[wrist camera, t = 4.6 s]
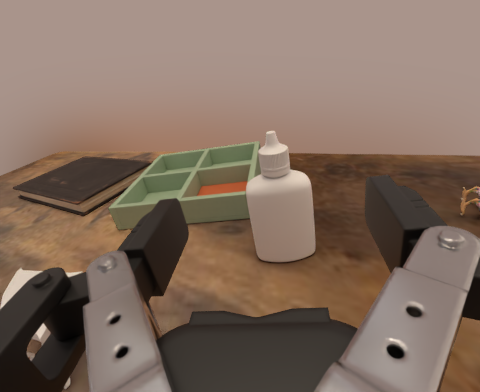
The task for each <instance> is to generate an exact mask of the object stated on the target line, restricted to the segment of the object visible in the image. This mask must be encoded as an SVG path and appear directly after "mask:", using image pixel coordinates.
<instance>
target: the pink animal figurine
mask: <svg viewBox="0 0 480 392" xmlns="http://www.w3.org/2000/svg"><path fill="white" fill-rule="evenodd" d="M463 189H464V191H463V192H462V196H463V199H464V200H463V199H461V200H462V203H461V211H462V213H461V214H462V215H464V213H465V208H466V206H467V205H469V204H476V205H477V207H478V208H479V211H480V200H479V199H480V187H474V188H473V189H470V190H467V191H466V189H465V187H463ZM471 192H476V193H477V194H478V196H479V199H473V200H471V201H468V202H466V203H465V201H466V199H467V198H466V197H467V195H468V194H469V193H471Z"/></svg>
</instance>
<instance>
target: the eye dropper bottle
mask: <svg viewBox="0 0 480 392" xmlns="http://www.w3.org/2000/svg"><path fill="white" fill-rule="evenodd" d="M258 156H259V162H260V169H261V174H260V175H258V176H256V177H254V178H253V179H251V180H250V181H249V182H248V184H247V186H246V198H247V204H248V210H249V215H250V220H251V226H252V231H253V236H254V241H255V247H256V252H257V255H258V257H259V258H260V259H261V260H263V261H269V262H289V261H295V260H299V259H302V258H305V257H308V256H310V255H312V254H313V253H314V252H315V248H316V246H315V229H314V213H313V199H312V188H311V183H310V180H309V178H308V177H307V175H306V174H304V173H302V172H299V171H295V170H290V162H289V152H288V147H287V146H286V145H284V144H280V143H279V142H278V139H277V136H276V133H275V131H269V132H267V133H266V144H265V146H264V147H262V148H260V149H259V151H258Z"/></svg>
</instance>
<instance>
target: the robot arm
mask: <svg viewBox="0 0 480 392" xmlns="http://www.w3.org/2000/svg"><path fill="white" fill-rule="evenodd" d="M365 218H366V223H367V226H368V228H369V230H370V232H371V234H372V236H373V238H374V240H375V242H376V244H377V246H378V248H379V250H380V252H381V254H382V256H383V258H384V260H385V262H386V264H387V266H388V268H389V270H390V272H391V275H390V276H389V278H388V280H387V281H386V283H385V285H384V286H383V288H382V290H381V291H380V293H379V295H378V296H377V298H376V300H375V301H374V303H373V305H372V306H371V308H370V310H369V311H368V313H367V315H366V316H365V318H364V320H363V321H362V323H361V325H360V326H359V328H358V329H357V328H355V327H353V326H351V325H349V324H346V323H343V322H340V321H337V320H332V319H330V316H329V311H328V308H298V309H289V310H285V311H281V312H277V313H273V314H269V315H266V316H262V317H250V316H246V315H241V314H236V313H231V312H227V311H201V312H192V315H191V318H190V321H189V323H187V324H184V325H181V326H179V327H177V328H175V329H173V330H171V331H169V332H167V333H166V334H164V335H162V333H161V330H160V328H159V325H158V323H157V320H156V318H155V315H154V312H153V310H152V307H151V305H150V303H149V300H150V298H151V296H163V295H164V293H165V291H166V288H167V286H168V284H169V281H170V279H171V277H172V274H173V272H174V270H175V268H176V265H177V263H178V261H179V258H180V256H181V254H182V251H183V249H184V247H185V245H186V242H187V240H188V226H187V223H186V220H185V217H184V214H183V211H182V208H181V205H180V202H179V200H178V199H177V198H171V199H162V200H159V201H158V203H157V204H156V205H155V207H154V208H153V210H152V211H150V212H149V213H147V214H146V215H145V216H143V217H142V218H141V219H140V220H139V222H138V223H137V224H136V227H134V228H133V230H132V231H131V233H130V234H129V235H128V236H127V238H126V239H125V240H124V242H123V243H122V244H121V246H120V247H119V249H118V250H117V251H112V252H109V253H106V254H104V255H102V256H100V257H98V258H97V259H95V260H94V261H93V262H92V263H91V264H90V265H89V266H88V268H87V270H86V272H84V273H81V274H78V275H74V276H71V277H68V276H67V274H66V273H65V271H64V270H63V269H62V268H58V267H57V268H51V269H47V270H45V271H43V272H40V273H39V274H37V275H35V276H34V277H32V278H31V279H29V280H28V281H27V282H26V283H25V284H24V285H23V286H22V287H21V288H20V289H19V290H18V291H17V292H16V293H15V294H14V296H13V297H12V298H11V299H10V300H9V301H8V302H7V303H6V304H5V305H4V306H3V307H2V308H1V309H0V392H62V390H63V388H64V386H65V384H66V383H67V381H68V379H69V377H70V375H71V374H72V372H73V370H74V368H75V366H76V365H77V363H78V361H79V359H80V357H81V356H82V354H83V352H84V350H85V348H86V354H87V366H88V378H89V390H90V392H440V389H441V386H442V382H443V379H444V376H445V372H446V369H447V366H448V362H449V359H450V356H451V353H452V349H453V346H454V343H455V340H456V336H457V333H458V330H459V327H460V324H461V320H462V317H466V318H470V319H475V320H480V240H479V239H478V238H477V237H476V236H475V235H473V234H472V233H470V232H468V231H466V230H463V229H460V228H456V227H450V226H447V224H446V223H445V222H444V221H443V220H442V219H441V218H440V217H439V216H438V215H437V214H436V212H435V211H434V210H433V209H432V208H431V207H429V205H428V204H427V203H426V202H425V201H423V198H422V197H421V196H420V195H419V194H418V193H417V192H416V191H414V190H412V189H410V188H408V187H406V186H397V185H396V183H395V182H394V181H393V180H392V179H391V177H390V176H389V175H383V176H374V177H367V179H366V192H365ZM43 323H44V325H45V326H46V327H47V329H48V330H49V331H50V332H51V334H50V335H49V337H48V338H47V340H46V341H45V342H44V344H43V345H42V347H41V348H40V349H39V351H38V352H37V354H36V355H35V357H34V358H33V359H32V361H30V359H29V358H28V356H27V346H28V343H29V341H30V340H31V338H32V337H33V336H34V334H35V333H36V332H37V330H38V329H39V328H40V327H41V325H42V324H43Z"/></svg>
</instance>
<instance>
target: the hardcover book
mask: <svg viewBox="0 0 480 392" xmlns="http://www.w3.org/2000/svg"><path fill="white" fill-rule="evenodd" d="M153 162H154V161H141V160H128V159H115V158H102V157H89V156H85V157H82V158H80V159H78V160H76V161H73V162H71V163H69V164H66V165H64V166H62V167H59V168H57V169H55V170H52V171H50V172H48V173H45V174H43V175H41V176H38V177H36V178H34V179H31V180H29V181H27V182H24V183H22V184H20V185H17V186H15V187H13V189H15V190H18V192H19V193H20V196H18V197H19V198H22V199H26V200H29V201H33V202H36V203H40V204H44V205H47V206H51V207H54V208H58V209H61V210H65V211H68V212H72V213H75V214H79V215H82V216H84V215H86V214H88V213H89V212H91V211H93V210H94V209H96V208H98V207H99V206H101V205H103V204H104V203H106V202H108V201H110V200H111V199H113V198H115V197H116V196H118V195H120V194H121V193H123V192H125V191H126V189H127V188H128V187H129V186H130V185H131V184H132V183H133V182H134V181H135V180H136V179H137V178H138V177H139V176H140V175H141V174H142V173H143V172H144V171H145V170H146V169H147V168H148V167H149V166H150V165H151V164H152V163H153Z"/></svg>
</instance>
